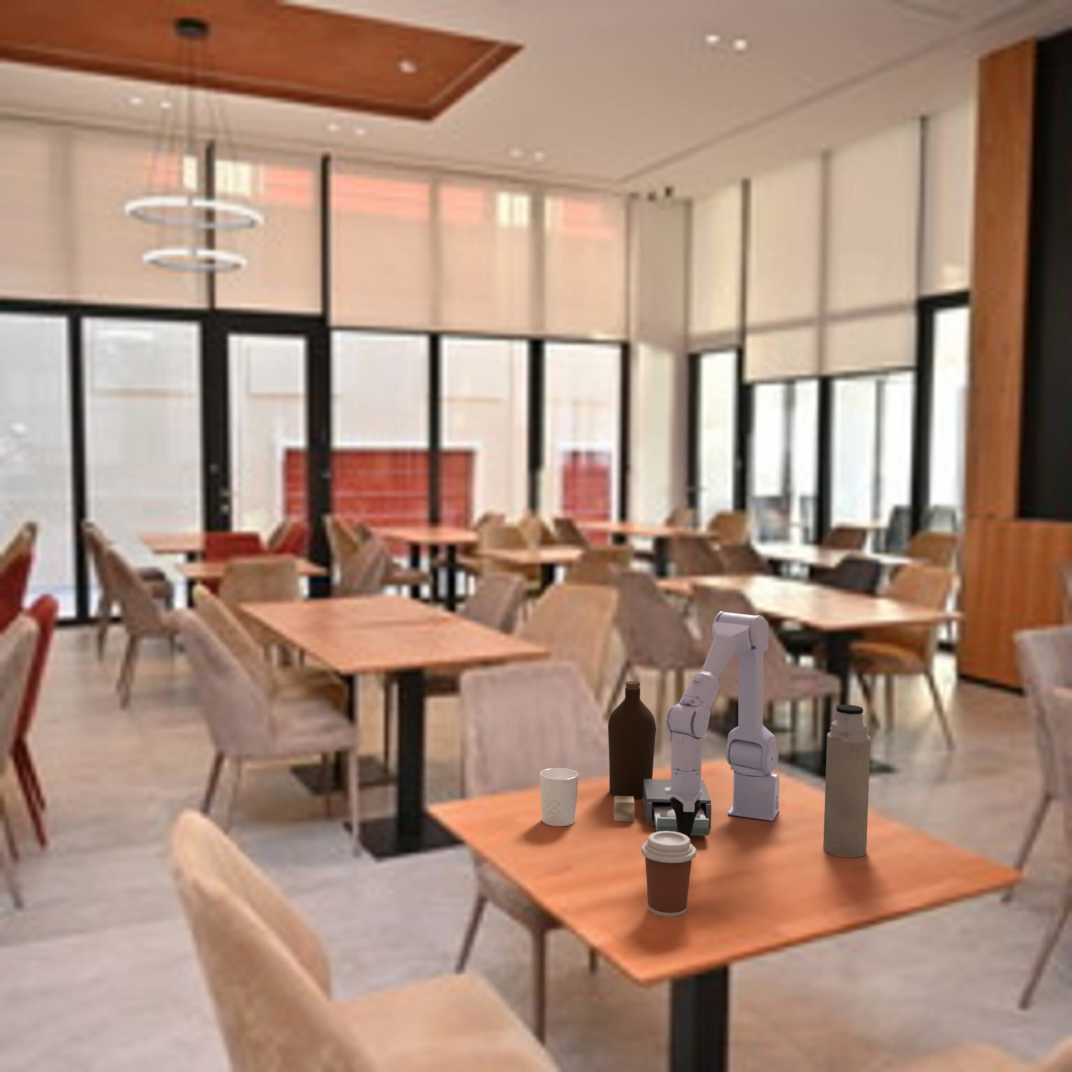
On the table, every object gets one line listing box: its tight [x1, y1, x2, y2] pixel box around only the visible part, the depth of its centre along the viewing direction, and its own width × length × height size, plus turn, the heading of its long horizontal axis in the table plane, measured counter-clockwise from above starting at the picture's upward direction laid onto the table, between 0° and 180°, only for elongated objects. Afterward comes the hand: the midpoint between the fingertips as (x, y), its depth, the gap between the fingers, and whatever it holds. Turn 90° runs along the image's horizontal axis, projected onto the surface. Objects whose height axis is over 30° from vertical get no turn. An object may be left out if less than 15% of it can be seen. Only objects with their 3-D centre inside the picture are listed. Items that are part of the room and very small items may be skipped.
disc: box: [667, 810, 696, 818], centre depth 213 cm, size 6×6×2 cm
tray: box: [653, 806, 710, 836], centre depth 214 cm, size 10×12×3 cm
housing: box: [642, 778, 712, 828], centre depth 224 cm, size 13×14×5 cm
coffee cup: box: [640, 831, 697, 918], centre depth 177 cm, size 9×9×12 cm
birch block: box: [613, 795, 635, 823], centre depth 221 cm, size 4×4×4 cm
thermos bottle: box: [822, 704, 872, 858], centre depth 204 cm, size 8×8×28 cm
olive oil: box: [607, 680, 657, 800], centre depth 237 cm, size 11×11×25 cm
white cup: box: [539, 767, 579, 827], centre depth 219 cm, size 8×8×10 cm
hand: (684, 836), depth 205 cm, fingers closed
